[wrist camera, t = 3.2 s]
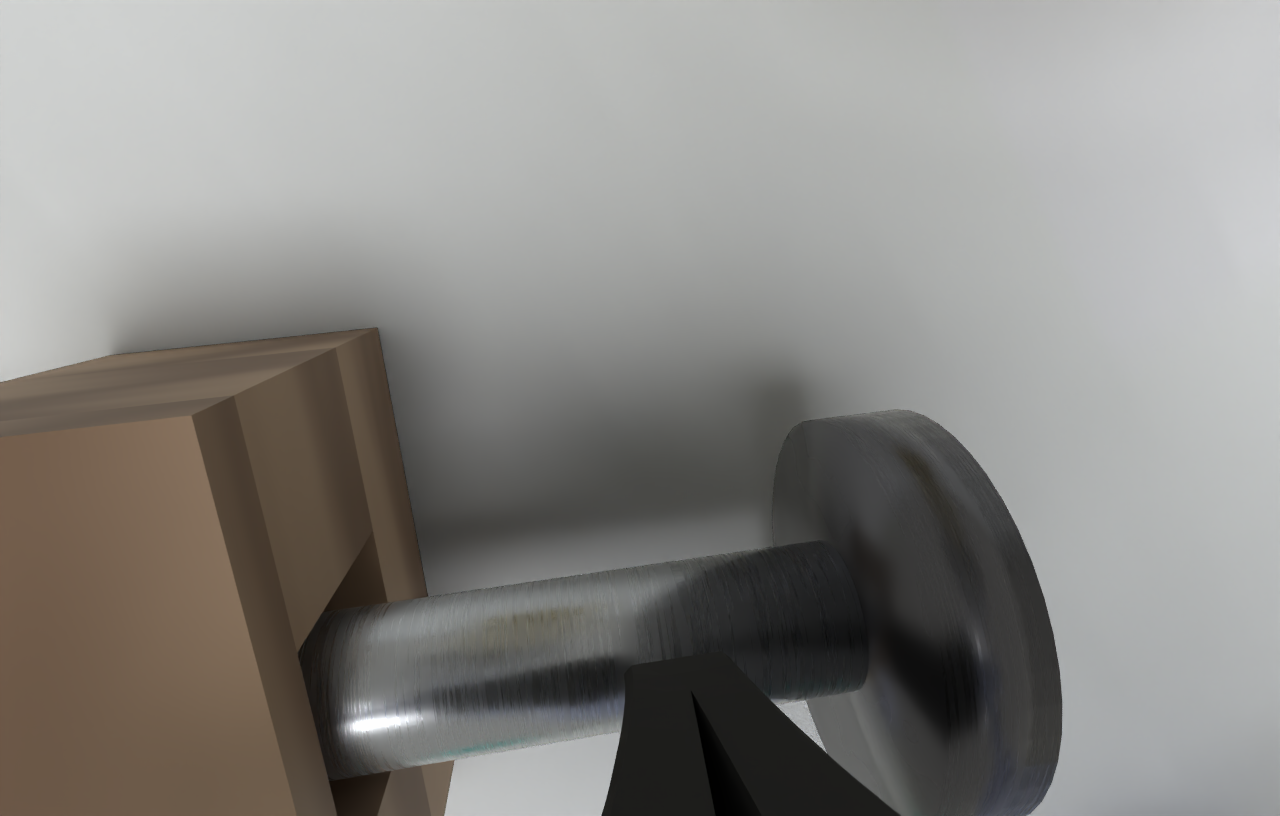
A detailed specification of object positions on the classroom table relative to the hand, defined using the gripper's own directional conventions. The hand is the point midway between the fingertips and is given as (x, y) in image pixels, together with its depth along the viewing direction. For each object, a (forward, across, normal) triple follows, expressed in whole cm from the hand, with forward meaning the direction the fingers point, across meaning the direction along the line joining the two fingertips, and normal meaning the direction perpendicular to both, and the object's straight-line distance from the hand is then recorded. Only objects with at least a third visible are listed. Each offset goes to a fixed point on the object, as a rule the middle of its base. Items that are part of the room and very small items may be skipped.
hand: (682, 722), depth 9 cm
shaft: (+5, +5, 0) cm, 7 cm away
